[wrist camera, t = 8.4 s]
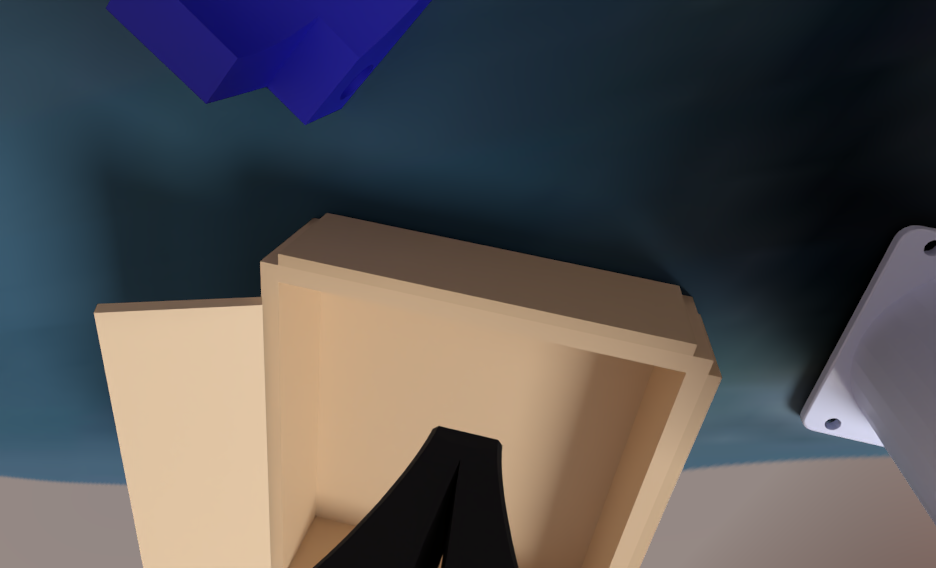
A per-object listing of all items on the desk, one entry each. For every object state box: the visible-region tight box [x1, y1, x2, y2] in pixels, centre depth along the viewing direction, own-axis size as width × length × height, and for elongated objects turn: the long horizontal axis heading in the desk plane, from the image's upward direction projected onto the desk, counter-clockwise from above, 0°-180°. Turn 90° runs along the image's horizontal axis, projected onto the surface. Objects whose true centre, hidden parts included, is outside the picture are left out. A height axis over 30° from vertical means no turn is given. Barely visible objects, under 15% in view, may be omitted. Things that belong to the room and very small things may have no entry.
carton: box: [260, 213, 722, 568], centre depth 23 cm, size 14×17×4 cm
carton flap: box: [94, 297, 271, 568], centre depth 21 cm, size 4×14×1 cm, turn 171°
